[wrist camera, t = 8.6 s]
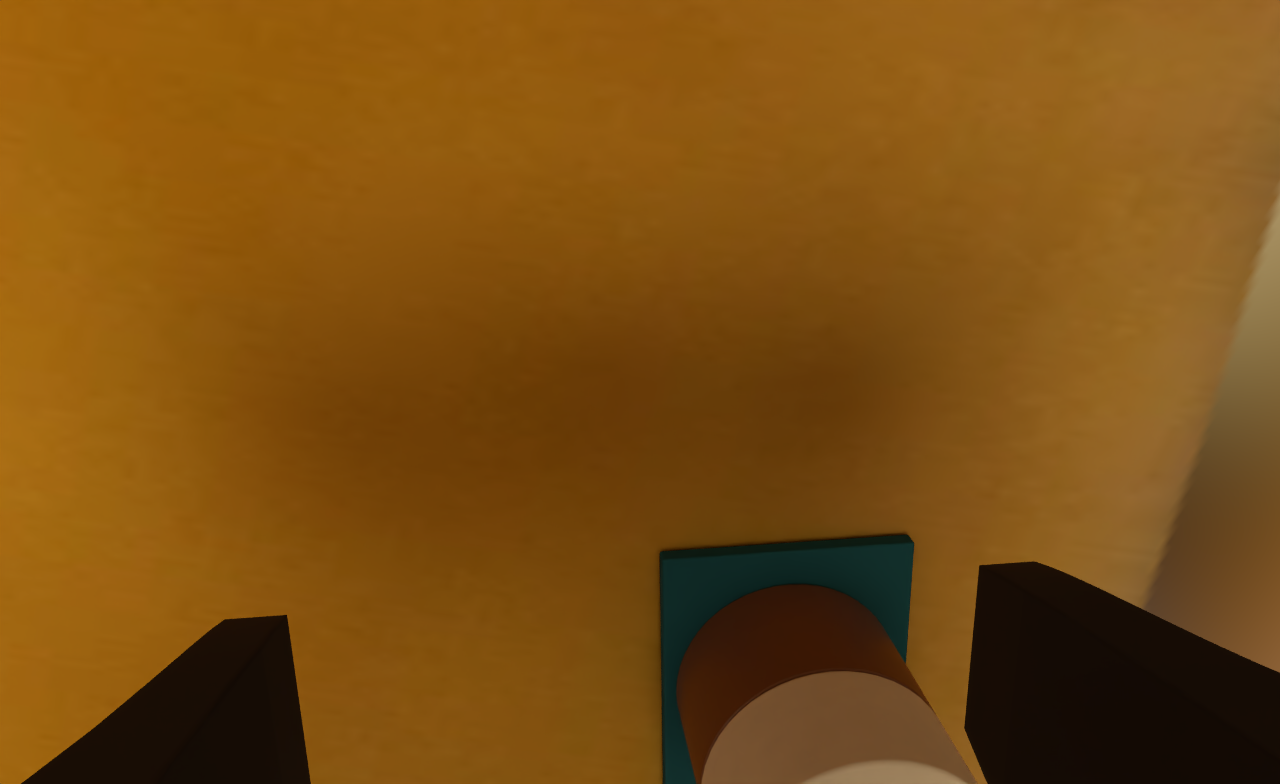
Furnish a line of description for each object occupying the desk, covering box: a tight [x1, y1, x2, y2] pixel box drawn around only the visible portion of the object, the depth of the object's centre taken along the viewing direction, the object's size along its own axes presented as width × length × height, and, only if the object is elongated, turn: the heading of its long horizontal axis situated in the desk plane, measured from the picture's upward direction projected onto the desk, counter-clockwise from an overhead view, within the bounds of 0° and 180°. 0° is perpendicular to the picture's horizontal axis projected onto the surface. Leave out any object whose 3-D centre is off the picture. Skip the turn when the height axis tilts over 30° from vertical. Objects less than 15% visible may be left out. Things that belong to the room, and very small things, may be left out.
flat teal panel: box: [660, 535, 914, 784], centre depth 23 cm, size 6×5×1 cm
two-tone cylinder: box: [676, 584, 977, 784], centre depth 20 cm, size 4×4×6 cm
